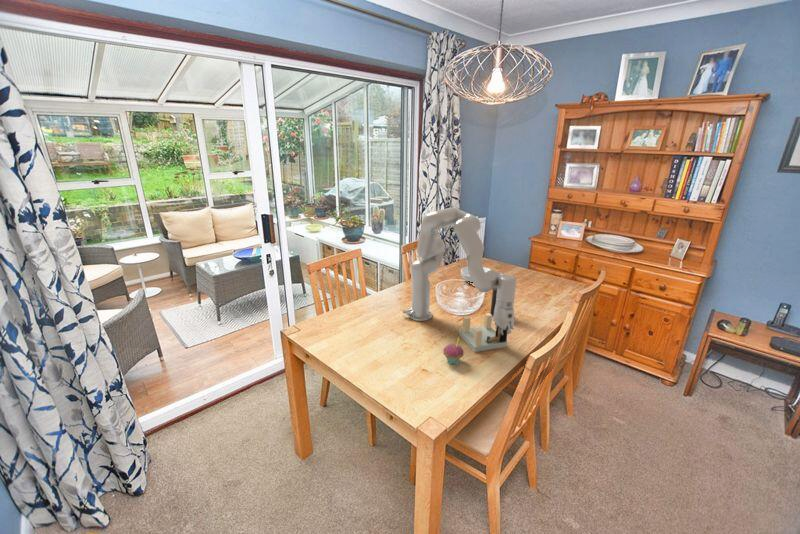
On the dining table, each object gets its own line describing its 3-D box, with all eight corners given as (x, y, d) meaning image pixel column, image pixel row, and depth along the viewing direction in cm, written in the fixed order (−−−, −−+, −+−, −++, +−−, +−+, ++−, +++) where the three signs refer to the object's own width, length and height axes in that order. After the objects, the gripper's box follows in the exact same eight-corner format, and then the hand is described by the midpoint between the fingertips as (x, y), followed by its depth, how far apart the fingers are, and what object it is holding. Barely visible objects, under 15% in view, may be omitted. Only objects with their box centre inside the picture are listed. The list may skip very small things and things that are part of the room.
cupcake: (460, 355, 153) (462, 331, 149) (464, 367, 145) (466, 342, 141) (441, 355, 152) (442, 331, 148) (444, 367, 144) (445, 342, 140)
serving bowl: (455, 277, 239) (455, 267, 237) (482, 273, 245) (483, 264, 242) (469, 288, 220) (470, 278, 218) (498, 285, 226) (499, 275, 224)
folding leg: (487, 343, 157) (489, 329, 154) (485, 340, 159) (487, 326, 157) (504, 342, 158) (506, 328, 155) (502, 339, 160) (503, 325, 158)
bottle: (504, 313, 189) (508, 279, 182) (501, 318, 184) (505, 283, 177) (492, 310, 192) (496, 276, 185) (488, 315, 187) (492, 281, 180)
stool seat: (474, 352, 155) (476, 333, 152) (458, 333, 169) (460, 316, 166) (506, 346, 159) (508, 327, 156) (488, 329, 174) (490, 311, 170)
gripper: (523, 309, 146) (518, 347, 152) (502, 294, 161) (498, 329, 167) (507, 312, 144) (502, 350, 150) (487, 296, 159) (484, 331, 165)
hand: (500, 339), depth 159 cm, fingers closed on folding leg, 2 cm apart
